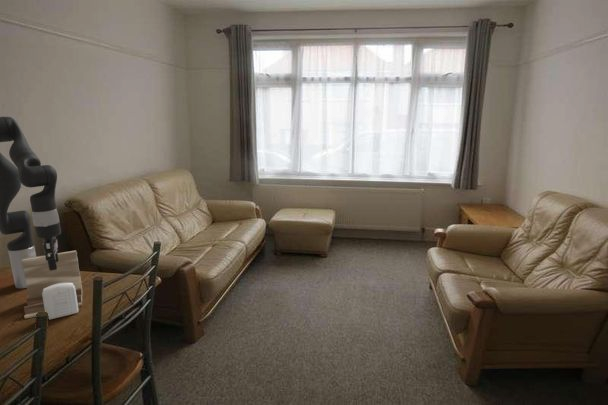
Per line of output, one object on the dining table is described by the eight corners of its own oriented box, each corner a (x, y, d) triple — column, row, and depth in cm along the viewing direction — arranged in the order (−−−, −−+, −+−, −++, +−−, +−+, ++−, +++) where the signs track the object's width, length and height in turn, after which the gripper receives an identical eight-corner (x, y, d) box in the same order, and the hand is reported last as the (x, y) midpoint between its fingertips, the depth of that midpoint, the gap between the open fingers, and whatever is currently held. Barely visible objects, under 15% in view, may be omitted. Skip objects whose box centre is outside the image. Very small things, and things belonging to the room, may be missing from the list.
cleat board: (30, 300, 147) (22, 258, 143) (82, 290, 156) (76, 250, 152) (24, 318, 134) (15, 273, 130) (81, 306, 143) (74, 262, 139)
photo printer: (78, 308, 141) (73, 278, 138) (79, 313, 137) (74, 282, 135) (46, 316, 135) (40, 285, 133) (46, 321, 132) (40, 290, 129)
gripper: (36, 219, 133) (43, 261, 136) (30, 229, 121) (39, 274, 124) (60, 216, 136) (67, 257, 140) (57, 225, 124) (65, 270, 128)
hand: (54, 265), depth 132 cm, fingers open, 8 cm apart
